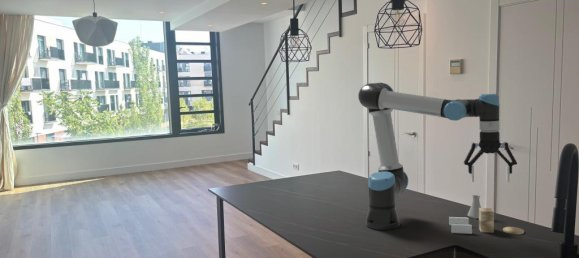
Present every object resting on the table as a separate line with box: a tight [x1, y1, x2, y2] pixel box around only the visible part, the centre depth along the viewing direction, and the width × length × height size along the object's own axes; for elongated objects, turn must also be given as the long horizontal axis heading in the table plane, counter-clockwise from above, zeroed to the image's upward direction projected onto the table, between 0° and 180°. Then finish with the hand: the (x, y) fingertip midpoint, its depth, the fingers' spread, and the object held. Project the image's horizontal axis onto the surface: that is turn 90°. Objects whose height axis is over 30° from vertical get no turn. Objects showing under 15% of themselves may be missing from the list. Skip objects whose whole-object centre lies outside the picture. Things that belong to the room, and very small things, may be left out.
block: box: [478, 207, 495, 234], centre depth 185 cm, size 5×5×9 cm
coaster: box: [502, 226, 525, 236], centre depth 183 cm, size 8×8×1 cm
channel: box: [448, 216, 473, 235], centre depth 189 cm, size 8×11×4 cm
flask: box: [467, 194, 482, 219], centre depth 204 cm, size 7×7×10 cm
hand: (490, 181), depth 183 cm, fingers open, 13 cm apart
